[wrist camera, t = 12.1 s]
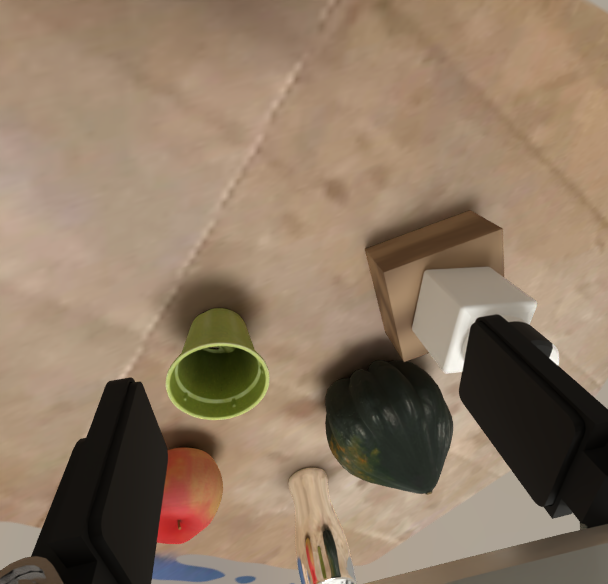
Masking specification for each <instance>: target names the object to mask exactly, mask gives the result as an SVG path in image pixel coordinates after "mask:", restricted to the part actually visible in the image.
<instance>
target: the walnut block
mask: <svg viewBox="0 0 608 584" xmlns="http://www.w3.org/2000/svg"><path fill="white" fill-rule="evenodd" d="M365 252H366V256H367V260H368V264H369V268H370V272H371V276H372V280H373V284H374V288H375V292H376V296H377V300H378V304H379V309H380V313H381V317H382V321H383V325H384V329H385V333H386V334H387V336H388V337H389V339H390V341H391V342H392V344H393V345H394V347H395V349H396V350H397V352H398V353H399V355H400V357H401V358H402V360H403V362H406V361H408V360H411V359H414V358H417V357H419V356H422V355H425V354H428V353H429V352H428V351H427V349H426V348H425V347H424V345H423V344H422V343H421V341H420V340H419V339H418V337H417V336H416V334H415V333H414V332H413V330H412V325H413V321H414V316H415V311H416V307H417V302H418V298H419V293H420V288H421V284H422V279H423V274H424V272H425V271H426V270H432V269H451V268H471V267H490V268H492V269H493V270H494V271H496V272H497V273H499V274H500V275H501V276H503V277H504V254H503V229H502V228H501V227H499V226H497V225H495V224H494V223H492V222H490V221H488V220H486V219H485V218H483V217H481V216H479V215H478V214H476V213H474V212H472V211H470V210H469V211H467V212H464V213H461V214H458V215H456V216H453V217H450V218H448V219H445V220H442V221H439V222H437V223H434V224H431V225H428V226H426V227H423V228H420V229H418V230H415V231H412V232H409V233H407V234H404V235H401V236H399V237H396V238H393V239H390V240H388V241H385V242H382V243H379V244H377V245H374V246H371V247H369V248H366V249H365Z"/></svg>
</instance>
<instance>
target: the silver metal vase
mask: <svg viewBox="0 0 608 584" xmlns="http://www.w3.org/2000/svg"><path fill="white" fill-rule="evenodd" d="M288 486H289V490H290V493H291V495H292V498H293V501H294V506H295V548H296V558H297V565H298V570H299V575H300V580H301V584H357V583H356V578H355V573H354V568H353V562H352V557H351V553H350V549H349V545H348V542H347V539H346V536H345V533H344V531H343V528H342V526H341V523H340V521H339V519H338V517H337V514H336V512H335V510H334V508H333V505H332V503H331V500H330V496H329V491H328V478H327V474H326V472H325V471H324V470H322V469H320V468H315V467H309V468H304V469H301V470H299V471H297V472H296V473H294V474H293V475H292V476H291V477H290V479H289V482H288Z"/></svg>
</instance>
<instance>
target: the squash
mask: <svg viewBox="0 0 608 584" xmlns="http://www.w3.org/2000/svg"><path fill="white" fill-rule="evenodd" d="M325 404H326V411H327V414H326V423H325V424H326V435H327V440H328V444H329V447H330V449H331V451H332V454H333V455H334V456H335V458H336V459H337V461H338V462H339V463H340V464H341V465H342V467H343V468H344V469H346V470H347V471H348V472H349V473H350V474H352V475H354V476H356V477H358V478H360V479H362V480H365V481H368V482H370V483H374V484H378V485H382V486H386V487H391V488H395V489H399V490H404V491H408V492H413V493H419V494H423V493H425V494H427V495H428V494H431V493H432V490H433V489H434V487H435V486H436V484H437V482H438V480H439V477H440V474H441V471H442V468H443V465H444V462H445V459H446V456H447V453H448V451H449V448H450V444H451V440H452V435H453V421H452V416H451V414H450V411H449V409H448V406H447V405H446V402H445V401H444V398H443V395H442V393H441V391H440V389H439V387H438V385H437V384H436V383H435V381H434V380H433V379H432V378H431V376H430V375H429V374H428V373H427V372H425V371H424V370H423V369H421V368H420V367H418V366H417V365H416V364H413V363H411V362H408V361H406V362H403V361H402V360H396V361H391V362H388V363H387V362H386V361H382V360H377V361H374V362H372V364H371V365H370V366H369V368H368V371H365V370H357V371H355V372H354V373H353V374H352V375H351V378H350V379H349V378H345V379H340V380H338V381H336V382H335V383H333V384H332V385H331V386H330V388H329V389H328V391H327V394H326V399H325Z"/></svg>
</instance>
